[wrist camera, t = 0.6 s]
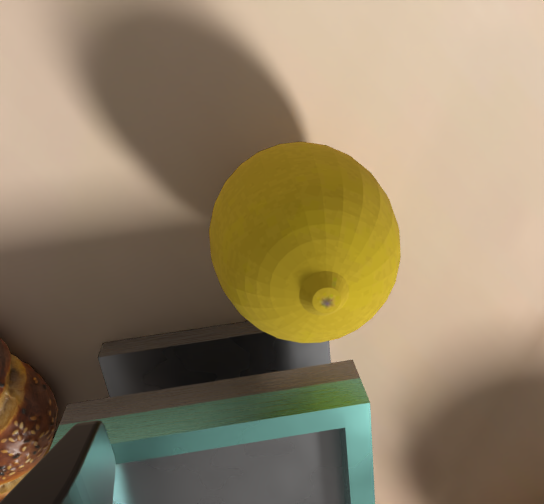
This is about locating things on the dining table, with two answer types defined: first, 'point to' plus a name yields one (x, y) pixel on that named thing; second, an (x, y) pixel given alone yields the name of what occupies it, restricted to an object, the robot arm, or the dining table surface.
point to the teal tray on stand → (231, 420)
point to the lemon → (304, 242)
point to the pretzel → (22, 419)
